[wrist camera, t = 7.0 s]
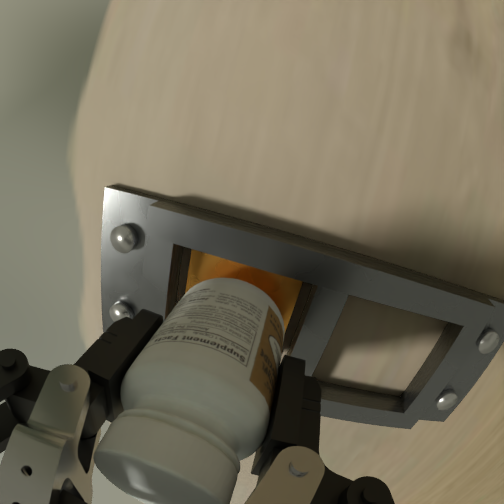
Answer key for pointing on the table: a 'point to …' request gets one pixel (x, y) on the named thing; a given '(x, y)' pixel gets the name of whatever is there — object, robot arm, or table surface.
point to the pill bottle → (197, 397)
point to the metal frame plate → (286, 293)
